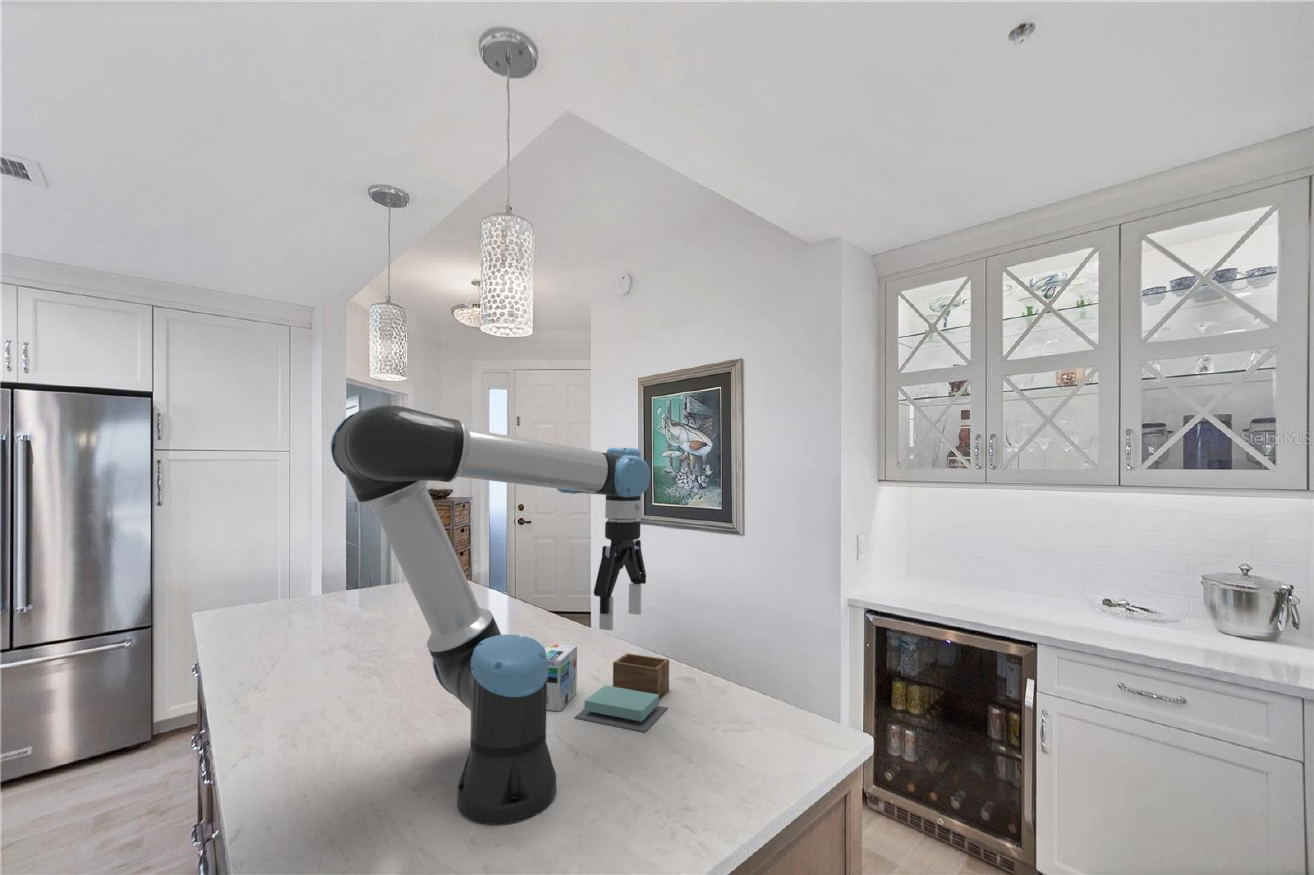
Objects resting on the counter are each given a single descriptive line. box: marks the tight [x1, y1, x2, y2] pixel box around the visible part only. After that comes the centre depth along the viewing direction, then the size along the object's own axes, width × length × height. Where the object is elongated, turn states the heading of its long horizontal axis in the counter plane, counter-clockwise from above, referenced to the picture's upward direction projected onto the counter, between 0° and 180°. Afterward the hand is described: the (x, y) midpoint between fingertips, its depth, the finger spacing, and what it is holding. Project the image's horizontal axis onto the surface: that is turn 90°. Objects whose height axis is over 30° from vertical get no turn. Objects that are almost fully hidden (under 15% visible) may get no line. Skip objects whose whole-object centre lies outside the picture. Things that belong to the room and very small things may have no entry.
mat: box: [573, 705, 669, 734], centre depth 121 cm, size 12×16×1 cm
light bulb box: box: [544, 643, 578, 712], centre depth 127 cm, size 11×7×11 cm, turn 168°
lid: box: [583, 685, 660, 722], centre depth 121 cm, size 9×13×3 cm
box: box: [612, 653, 670, 701], centre depth 132 cm, size 7×11×7 cm, turn 67°
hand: (621, 621), depth 121 cm, fingers open, 13 cm apart
